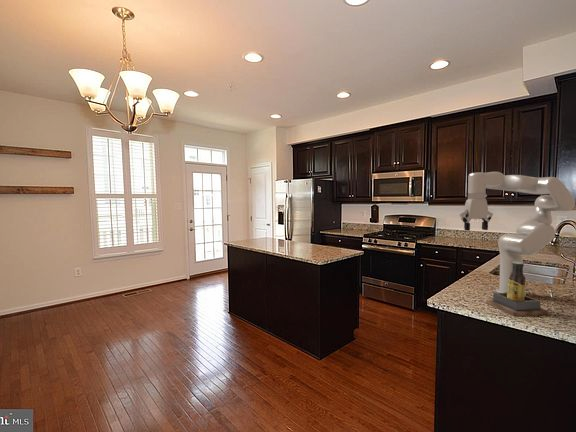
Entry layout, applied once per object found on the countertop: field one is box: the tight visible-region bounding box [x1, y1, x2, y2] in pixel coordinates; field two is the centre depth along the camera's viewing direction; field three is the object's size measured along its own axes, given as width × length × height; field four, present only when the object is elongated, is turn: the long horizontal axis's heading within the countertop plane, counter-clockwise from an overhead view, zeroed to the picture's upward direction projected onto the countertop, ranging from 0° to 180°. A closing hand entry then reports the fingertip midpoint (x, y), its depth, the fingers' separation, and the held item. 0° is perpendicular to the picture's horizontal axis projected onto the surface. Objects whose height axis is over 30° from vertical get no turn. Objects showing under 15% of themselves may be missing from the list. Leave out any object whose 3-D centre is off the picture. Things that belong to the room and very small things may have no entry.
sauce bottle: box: [507, 262, 526, 301], centre depth 130 cm, size 7×6×20 cm
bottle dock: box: [486, 292, 549, 317], centre depth 130 cm, size 16×15×6 cm
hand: (475, 230), depth 147 cm, fingers open, 9 cm apart
